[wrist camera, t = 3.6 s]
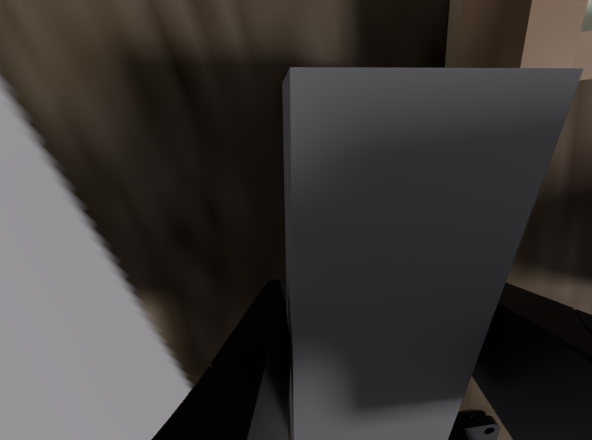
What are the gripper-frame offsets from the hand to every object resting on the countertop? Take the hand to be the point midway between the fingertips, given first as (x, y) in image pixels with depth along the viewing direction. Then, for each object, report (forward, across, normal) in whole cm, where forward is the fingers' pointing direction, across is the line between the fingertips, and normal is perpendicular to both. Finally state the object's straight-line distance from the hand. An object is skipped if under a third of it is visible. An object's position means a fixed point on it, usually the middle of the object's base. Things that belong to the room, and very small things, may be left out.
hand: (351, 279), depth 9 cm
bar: (+1, 0, 0) cm, 1 cm away
